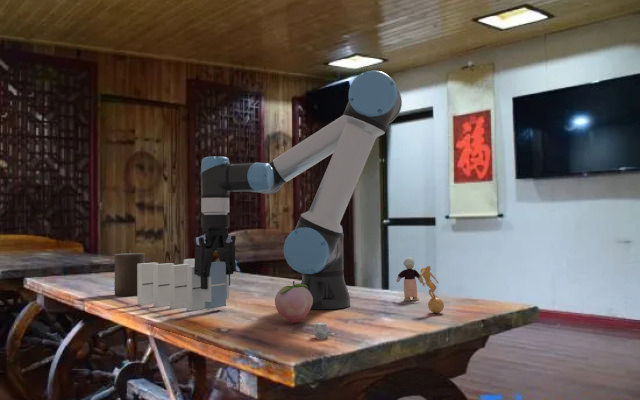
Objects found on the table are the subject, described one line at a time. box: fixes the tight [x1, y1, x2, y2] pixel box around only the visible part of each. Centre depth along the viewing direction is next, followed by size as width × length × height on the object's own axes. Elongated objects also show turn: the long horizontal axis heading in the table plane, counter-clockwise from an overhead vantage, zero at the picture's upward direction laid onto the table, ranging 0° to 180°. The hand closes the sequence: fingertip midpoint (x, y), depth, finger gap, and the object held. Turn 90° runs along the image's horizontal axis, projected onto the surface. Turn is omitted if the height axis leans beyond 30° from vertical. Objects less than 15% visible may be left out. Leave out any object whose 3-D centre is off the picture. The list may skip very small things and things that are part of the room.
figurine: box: [419, 265, 445, 314], centre depth 147 cm, size 8×6×12 cm
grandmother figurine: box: [396, 256, 422, 302], centre depth 170 cm, size 8×4×13 cm, turn 92°
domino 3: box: [169, 263, 191, 310], centre depth 162 cm, size 2×6×12 cm, turn 146°
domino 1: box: [136, 261, 159, 306], centre depth 170 cm, size 2×6×12 cm, turn 146°
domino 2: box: [152, 262, 175, 308], centre depth 166 cm, size 2×6×12 cm, turn 146°
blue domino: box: [205, 261, 227, 310], centre depth 154 cm, size 2×6×12 cm, turn 146°
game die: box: [311, 322, 331, 340], centre depth 117 cm, size 4×4×3 cm
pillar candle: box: [113, 249, 146, 297], centre depth 192 cm, size 10×10×15 cm
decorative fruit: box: [274, 280, 313, 324], centre depth 134 cm, size 9×8×10 cm
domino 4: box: [186, 266, 207, 312], centre depth 158 cm, size 2×6×12 cm, turn 146°
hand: (215, 299), depth 154 cm, fingers closed on blue domino, 6 cm apart
